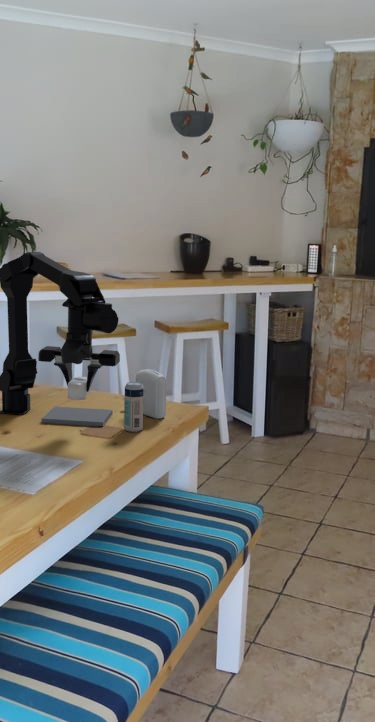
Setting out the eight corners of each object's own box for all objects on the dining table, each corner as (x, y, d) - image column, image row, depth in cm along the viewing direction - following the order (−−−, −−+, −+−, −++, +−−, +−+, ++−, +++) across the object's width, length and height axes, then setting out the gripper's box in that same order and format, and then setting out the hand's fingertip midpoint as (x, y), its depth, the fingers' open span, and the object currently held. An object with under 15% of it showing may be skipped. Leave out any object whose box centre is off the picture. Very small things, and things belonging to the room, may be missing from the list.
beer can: (145, 428, 176) (146, 382, 173) (138, 433, 171) (139, 386, 169) (128, 426, 177) (129, 380, 175) (120, 431, 173) (121, 384, 170)
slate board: (41, 422, 177) (41, 418, 177) (54, 410, 189) (54, 406, 189) (102, 426, 176) (102, 422, 176) (112, 414, 188) (112, 409, 187)
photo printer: (132, 411, 191) (133, 367, 189) (145, 409, 194) (146, 365, 191) (155, 420, 183) (156, 374, 181) (168, 417, 186) (169, 372, 184)
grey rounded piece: (65, 399, 164) (65, 384, 164) (78, 387, 175) (78, 374, 175) (82, 400, 164) (82, 385, 163) (93, 388, 175) (94, 375, 174)
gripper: (30, 330, 158) (30, 396, 161) (111, 335, 156) (109, 402, 160) (45, 323, 169) (45, 385, 172) (121, 327, 167) (119, 390, 170)
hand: (79, 390), depth 168 cm, fingers closed on grey rounded piece, 4 cm apart
